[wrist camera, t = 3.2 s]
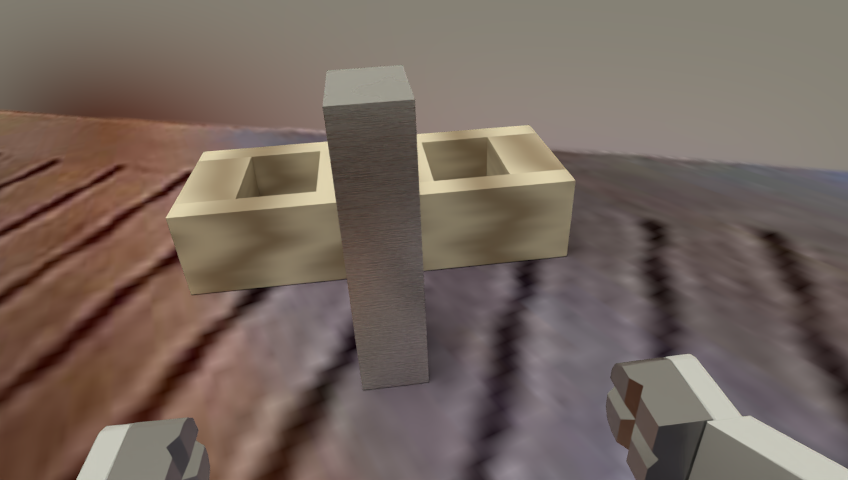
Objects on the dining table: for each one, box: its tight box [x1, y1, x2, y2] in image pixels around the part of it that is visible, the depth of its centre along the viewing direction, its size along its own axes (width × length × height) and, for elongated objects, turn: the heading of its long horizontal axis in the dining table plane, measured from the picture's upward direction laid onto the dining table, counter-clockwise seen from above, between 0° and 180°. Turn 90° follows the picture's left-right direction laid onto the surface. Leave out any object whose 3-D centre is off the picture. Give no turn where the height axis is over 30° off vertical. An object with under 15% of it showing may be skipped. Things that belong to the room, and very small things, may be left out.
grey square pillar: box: [323, 65, 429, 390], centre depth 23 cm, size 3×4×13 cm, turn 7°
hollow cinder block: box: [166, 125, 575, 295], centre depth 34 cm, size 22×9×5 cm, turn 97°
